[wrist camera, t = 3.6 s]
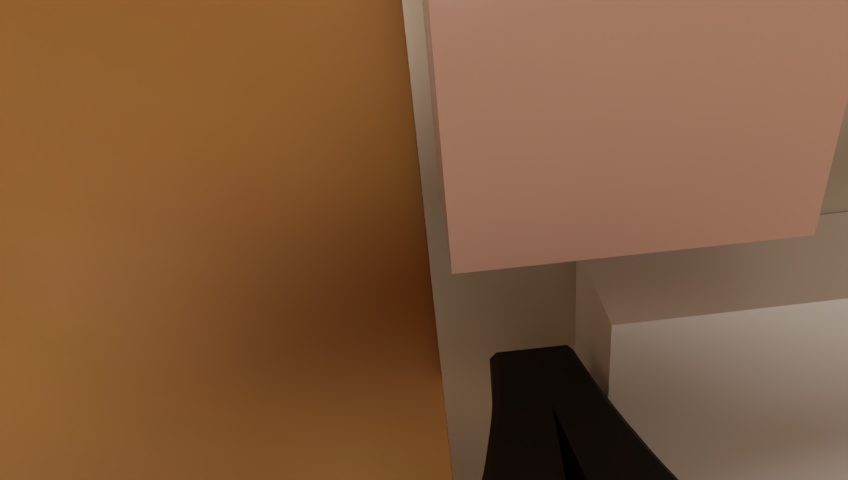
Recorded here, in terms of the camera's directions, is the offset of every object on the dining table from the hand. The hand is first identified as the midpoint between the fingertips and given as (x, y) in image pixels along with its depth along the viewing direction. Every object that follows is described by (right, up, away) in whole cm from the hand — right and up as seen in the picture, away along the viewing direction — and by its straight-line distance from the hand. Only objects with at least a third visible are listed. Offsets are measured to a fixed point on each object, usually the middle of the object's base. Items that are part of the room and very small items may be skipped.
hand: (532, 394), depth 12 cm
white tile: (+3, +1, +1) cm, 3 cm away
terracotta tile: (0, +5, -2) cm, 6 cm away
